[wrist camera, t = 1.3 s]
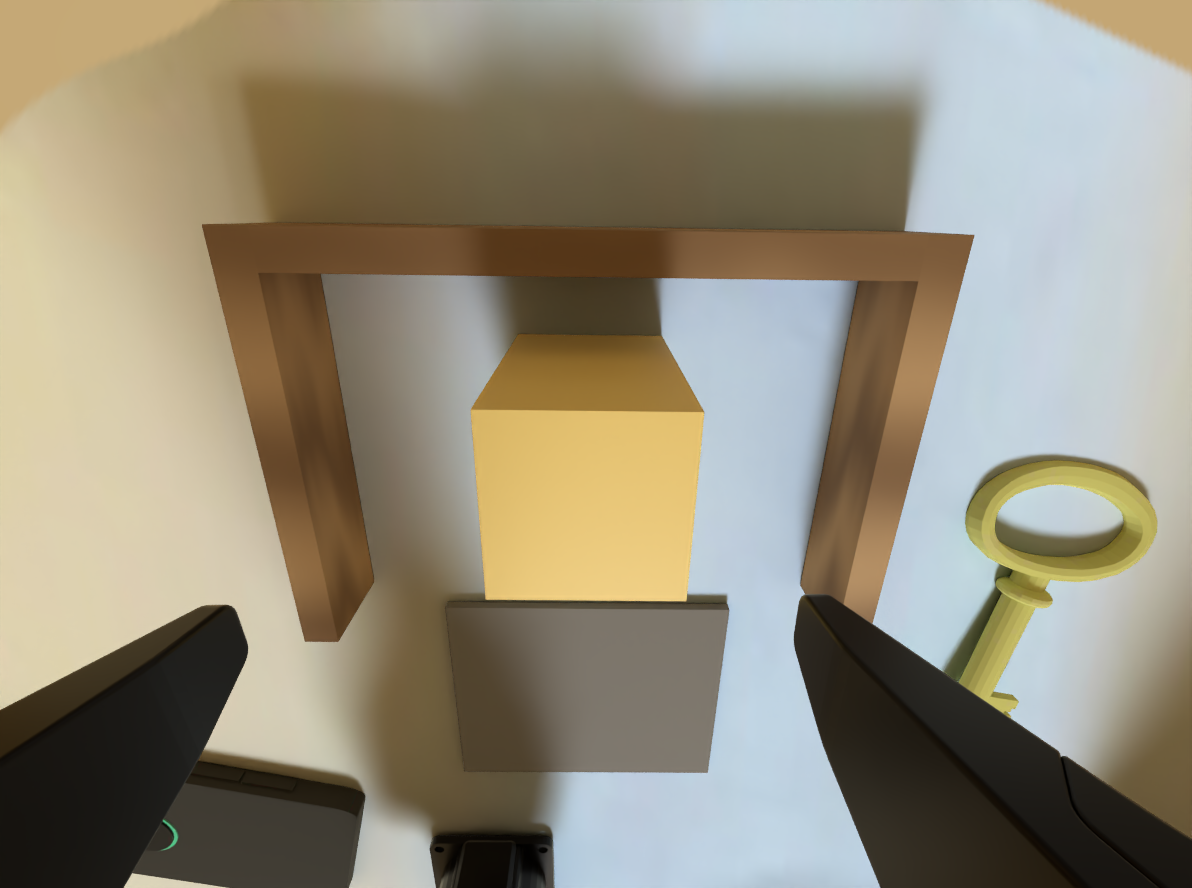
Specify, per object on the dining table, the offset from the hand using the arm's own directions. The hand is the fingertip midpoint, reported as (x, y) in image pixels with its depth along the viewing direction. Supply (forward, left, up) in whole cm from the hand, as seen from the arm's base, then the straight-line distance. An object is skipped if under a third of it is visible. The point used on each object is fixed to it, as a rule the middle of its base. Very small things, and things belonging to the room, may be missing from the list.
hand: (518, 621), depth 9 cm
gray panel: (-14, -1, -12) cm, 19 cm away
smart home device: (-23, +21, -13) cm, 34 cm away
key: (-8, -19, -13) cm, 24 cm away
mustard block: (0, -1, -12) cm, 12 cm away
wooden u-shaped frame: (-1, -1, -12) cm, 12 cm away
